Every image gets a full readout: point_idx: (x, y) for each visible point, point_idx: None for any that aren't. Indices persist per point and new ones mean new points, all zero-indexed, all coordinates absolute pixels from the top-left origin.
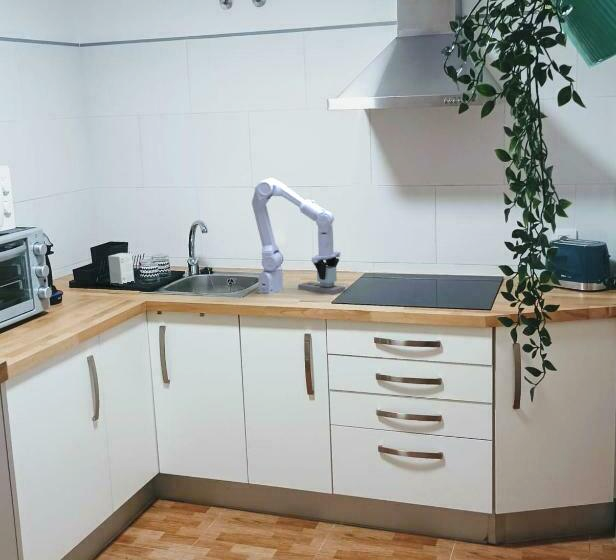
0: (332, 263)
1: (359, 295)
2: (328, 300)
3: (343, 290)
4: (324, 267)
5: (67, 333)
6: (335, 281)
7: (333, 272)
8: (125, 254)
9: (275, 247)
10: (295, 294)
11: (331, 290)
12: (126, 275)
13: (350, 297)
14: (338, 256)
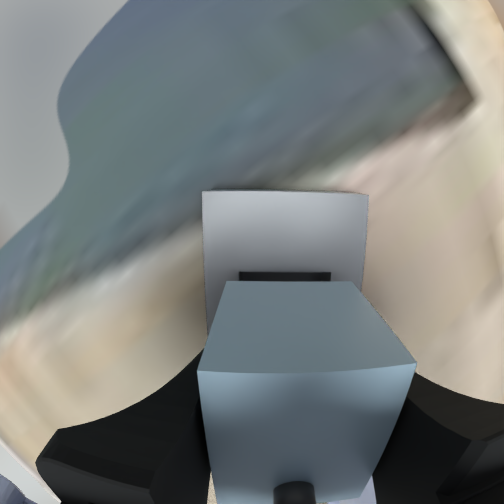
0: (189, 472)
1: (215, 58)
2: (443, 158)
3: (228, 190)
4: (462, 403)
5: None
6: (245, 281)
7: (279, 331)
8: None
9: None
10: None
11: (365, 215)
12: None
13: (302, 72)
14: (8, 490)
